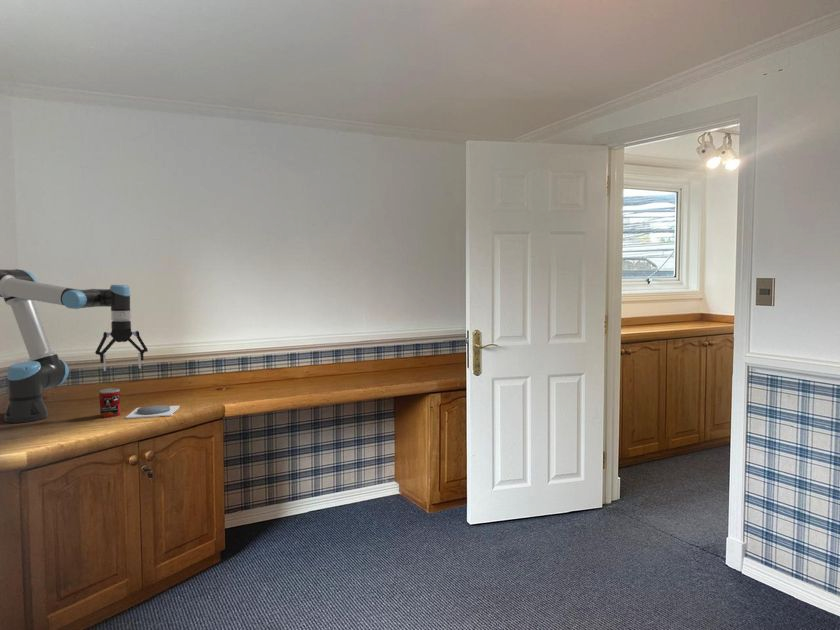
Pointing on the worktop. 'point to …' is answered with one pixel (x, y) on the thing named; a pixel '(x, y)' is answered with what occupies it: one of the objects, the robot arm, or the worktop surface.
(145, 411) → the white square plate
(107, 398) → the canned food
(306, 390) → the worktop surface
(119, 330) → the robot arm
